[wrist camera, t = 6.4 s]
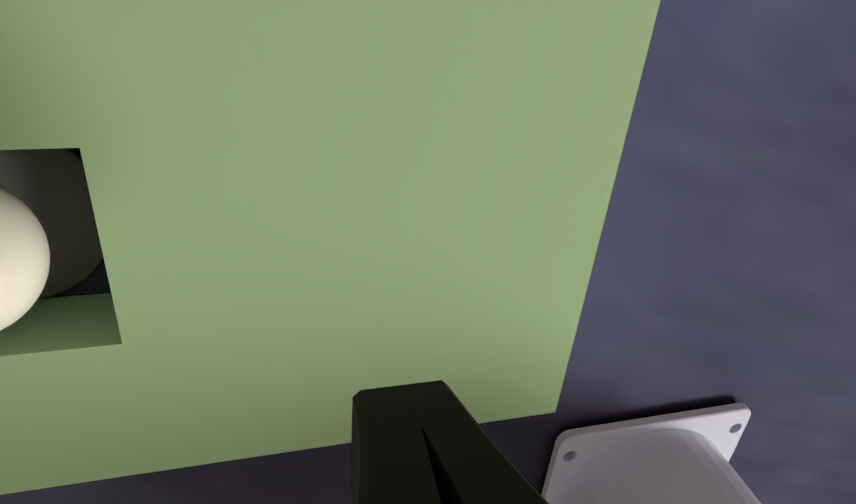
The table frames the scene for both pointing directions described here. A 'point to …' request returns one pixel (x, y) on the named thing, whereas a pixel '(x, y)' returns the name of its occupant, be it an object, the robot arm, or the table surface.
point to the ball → (20, 259)
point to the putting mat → (298, 215)
